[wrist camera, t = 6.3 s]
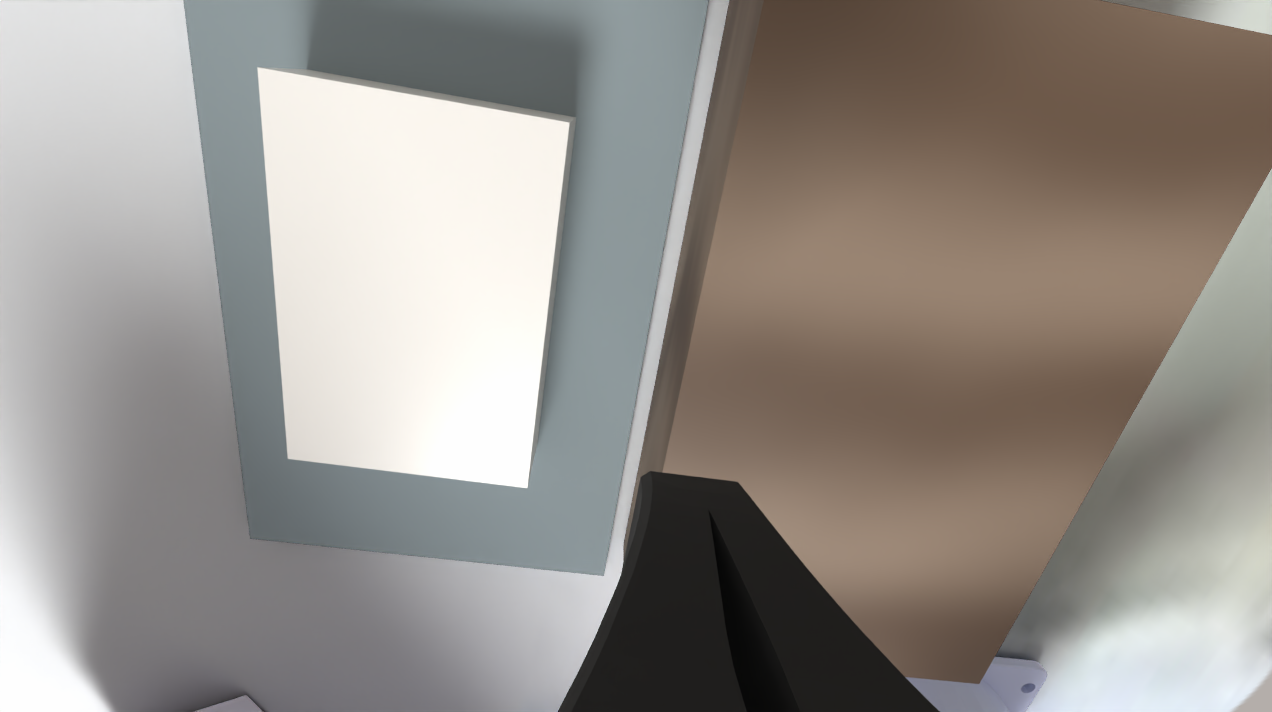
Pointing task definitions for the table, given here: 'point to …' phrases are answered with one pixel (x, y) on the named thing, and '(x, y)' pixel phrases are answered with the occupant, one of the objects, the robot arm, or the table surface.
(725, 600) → the robot arm
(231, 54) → the mat
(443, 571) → the table surface
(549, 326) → the card case
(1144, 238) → the riser
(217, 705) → the game console
